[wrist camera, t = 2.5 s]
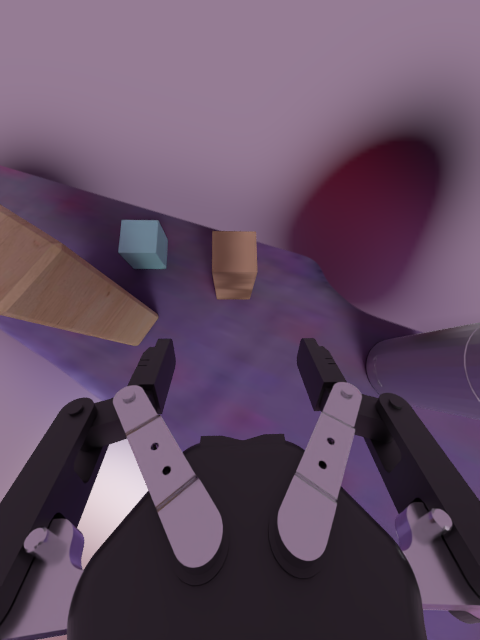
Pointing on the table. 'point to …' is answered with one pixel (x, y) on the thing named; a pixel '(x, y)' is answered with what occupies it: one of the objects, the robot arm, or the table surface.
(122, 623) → the robot arm
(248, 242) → the tan long block
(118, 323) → the decorative block
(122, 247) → the teal cube
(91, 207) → the table surface
